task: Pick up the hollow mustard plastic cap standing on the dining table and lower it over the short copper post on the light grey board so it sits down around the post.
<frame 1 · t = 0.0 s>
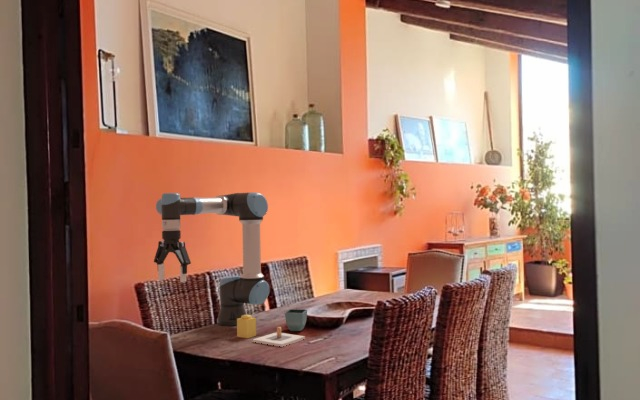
hand: (172, 280, 244), 28 cm above the table, fingers open, 13 cm apart
flower pot: (296, 330, 273), on the table
post board: (279, 340, 253), on the table
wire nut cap: (246, 336, 263), on the table
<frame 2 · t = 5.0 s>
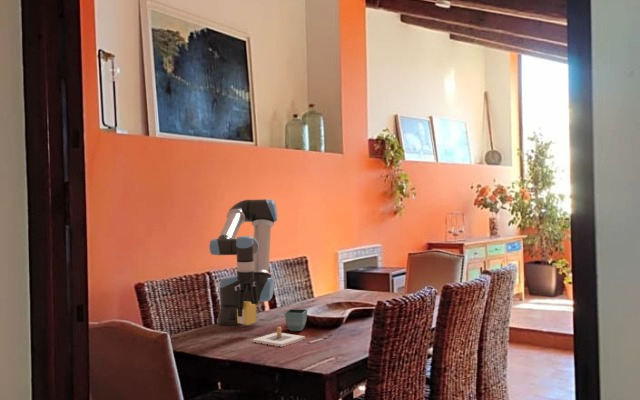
hand: (246, 321, 263), 6 cm above the table, fingers closed on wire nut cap, 6 cm apart
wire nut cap: (246, 322, 263), point 6 cm above the table, touching gripper
everything else where it was.
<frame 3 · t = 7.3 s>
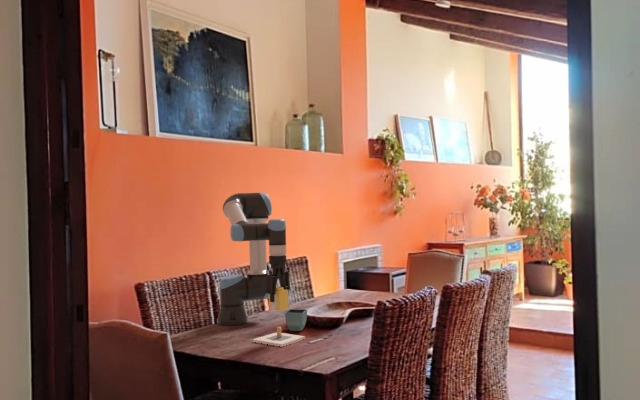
hand: (278, 308, 253), 14 cm above the table, fingers closed on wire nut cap, 6 cm apart
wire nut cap: (278, 308, 253), point 14 cm above the table, touching gripper
everything else where it was.
when the fingers open (2 cm above the table, at t = 9.5 s): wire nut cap stays where it is, resting on post board.
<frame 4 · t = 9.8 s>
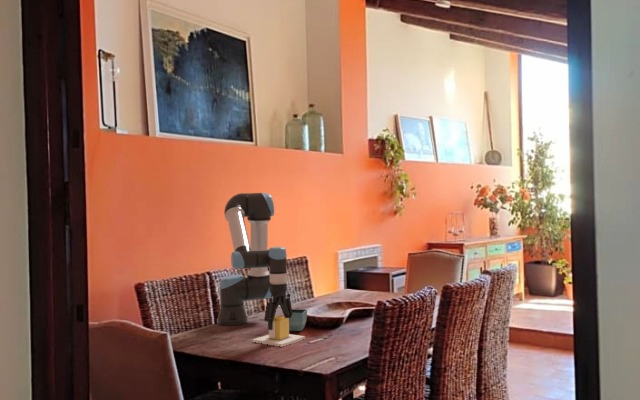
hand: (279, 334, 253), 3 cm above the table, fingers open, 9 cm apart
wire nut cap: (279, 337, 253), point 1 cm above the table, touching post board
everything else where it was.
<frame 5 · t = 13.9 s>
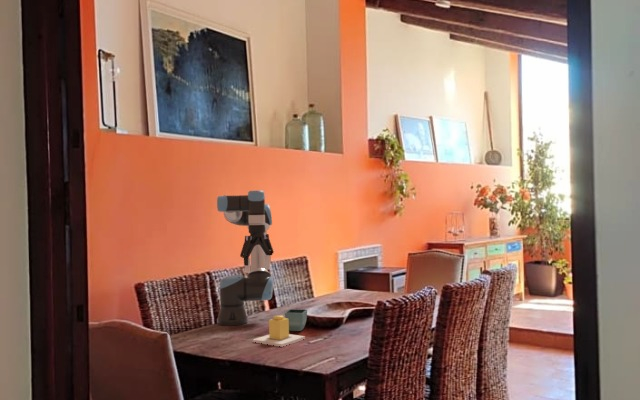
hand: (257, 271, 266), 29 cm above the table, fingers open, 13 cm apart
nothing on the table moved.
at the end: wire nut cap 0.0 cm off-centre on the post board, point 1.3 cm above the post board's base; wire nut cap tilted 0°; the gripper is holding nothing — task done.
